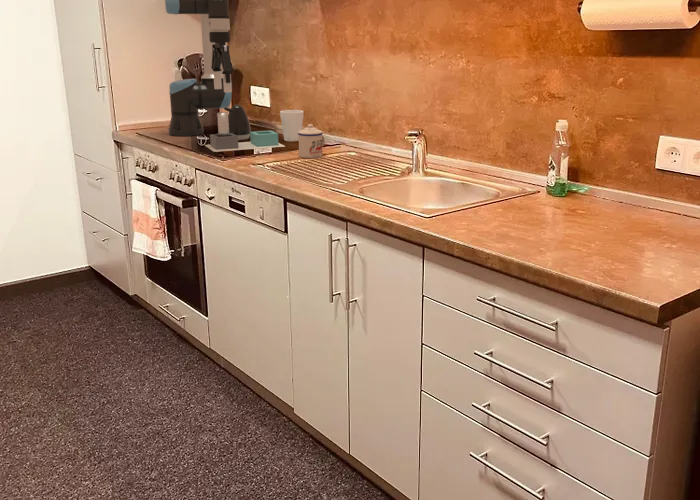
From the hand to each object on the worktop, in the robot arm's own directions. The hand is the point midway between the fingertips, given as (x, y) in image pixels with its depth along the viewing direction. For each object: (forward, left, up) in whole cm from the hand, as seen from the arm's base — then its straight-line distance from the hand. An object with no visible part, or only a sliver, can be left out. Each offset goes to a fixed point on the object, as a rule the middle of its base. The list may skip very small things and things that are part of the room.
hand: (222, 90), depth 260 cm
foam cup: (-5, +29, -23) cm, 37 cm away
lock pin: (0, -1, -21) cm, 21 cm away
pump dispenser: (-18, +10, -23) cm, 31 cm away
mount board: (0, +7, -23) cm, 24 cm away
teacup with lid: (+23, +27, -23) cm, 42 cm away
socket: (0, +15, -21) cm, 26 cm away
